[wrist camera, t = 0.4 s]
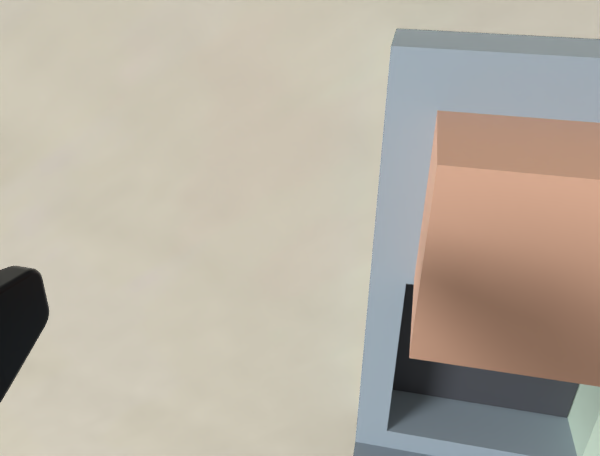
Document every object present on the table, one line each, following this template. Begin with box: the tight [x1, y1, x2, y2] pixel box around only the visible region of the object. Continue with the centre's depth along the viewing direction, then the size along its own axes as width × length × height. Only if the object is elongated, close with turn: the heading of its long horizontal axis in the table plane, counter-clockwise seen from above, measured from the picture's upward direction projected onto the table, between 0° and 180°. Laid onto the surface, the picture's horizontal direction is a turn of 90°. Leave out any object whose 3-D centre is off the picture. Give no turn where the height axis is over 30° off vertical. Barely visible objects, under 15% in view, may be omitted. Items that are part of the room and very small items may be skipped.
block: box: [409, 110, 600, 387], centre depth 16 cm, size 6×6×4 cm
